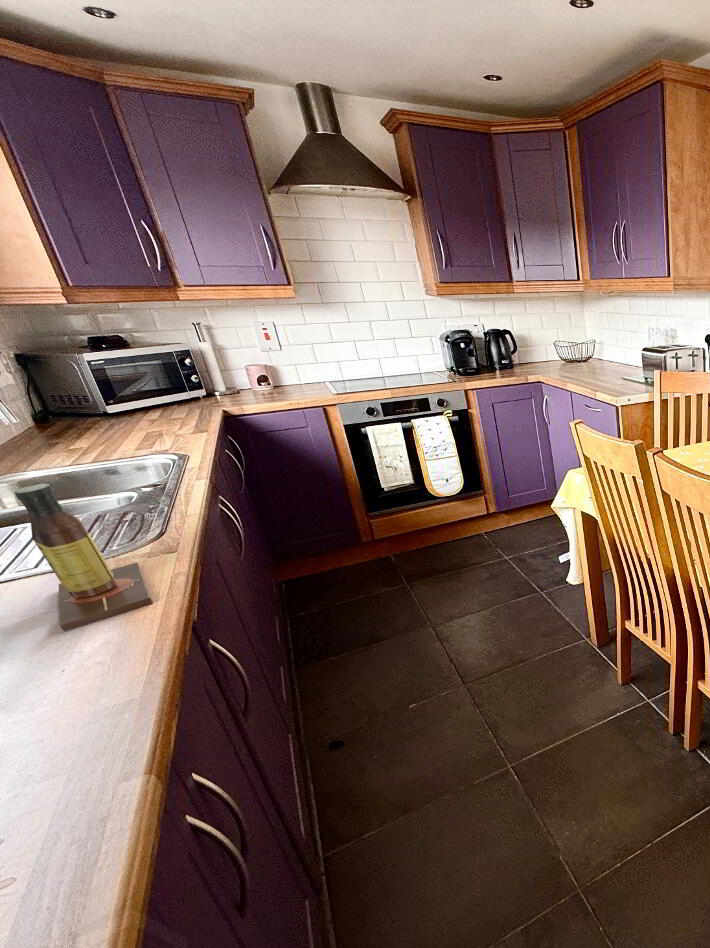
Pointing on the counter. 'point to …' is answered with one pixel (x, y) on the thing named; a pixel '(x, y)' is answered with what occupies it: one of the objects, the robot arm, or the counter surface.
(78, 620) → the board
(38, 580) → the counter surface
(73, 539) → the sauce bottle
